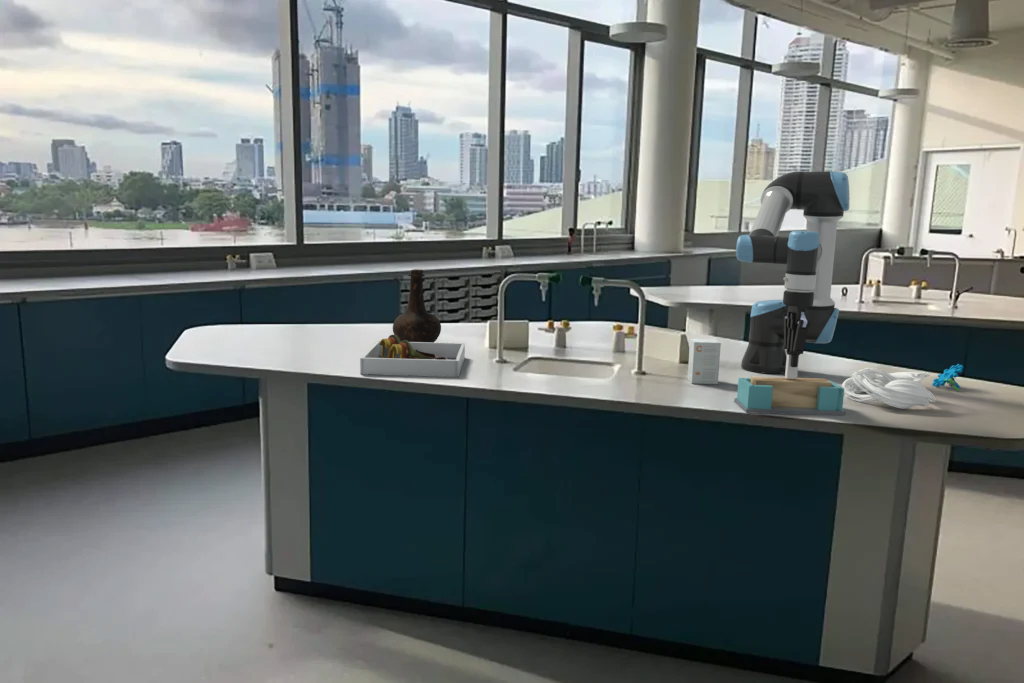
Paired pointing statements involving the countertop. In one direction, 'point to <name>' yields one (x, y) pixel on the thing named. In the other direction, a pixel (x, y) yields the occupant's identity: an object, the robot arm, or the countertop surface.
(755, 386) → the rail
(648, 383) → the countertop surface
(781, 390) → the slat
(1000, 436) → the countertop surface
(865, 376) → the coil
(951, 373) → the blue toy flower
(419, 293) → the glass bottle
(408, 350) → the multicoloured curved piece
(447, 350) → the tray
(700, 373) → the small box
